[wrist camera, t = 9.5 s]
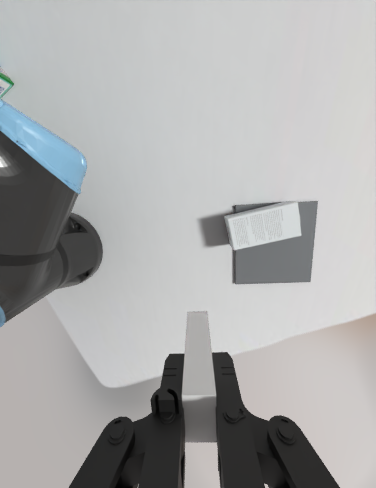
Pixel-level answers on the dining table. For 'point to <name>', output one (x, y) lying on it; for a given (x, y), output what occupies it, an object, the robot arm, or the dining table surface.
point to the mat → (279, 252)
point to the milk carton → (4, 82)
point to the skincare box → (263, 225)
